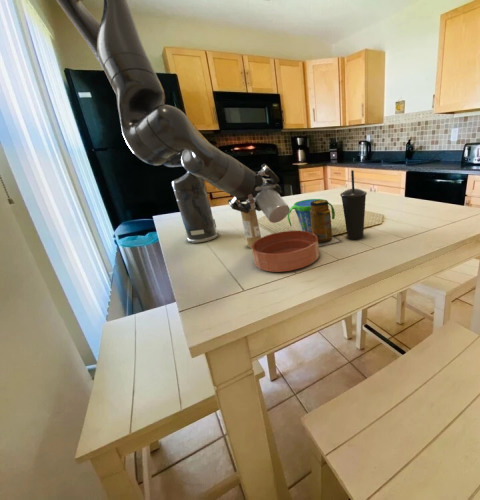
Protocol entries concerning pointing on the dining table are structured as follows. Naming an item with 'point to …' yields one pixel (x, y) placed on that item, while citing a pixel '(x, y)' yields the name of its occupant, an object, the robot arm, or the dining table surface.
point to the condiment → (321, 222)
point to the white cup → (272, 205)
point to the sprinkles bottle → (251, 226)
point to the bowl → (285, 250)
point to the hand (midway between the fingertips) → (270, 199)
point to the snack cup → (305, 213)
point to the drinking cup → (354, 211)
